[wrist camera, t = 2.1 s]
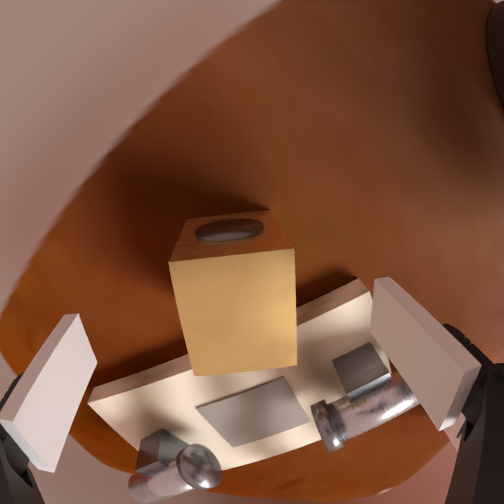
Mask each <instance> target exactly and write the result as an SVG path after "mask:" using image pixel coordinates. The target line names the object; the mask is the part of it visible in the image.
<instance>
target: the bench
mask: <svg viewBox="0 0 504 504" xmlns="http://www.w3.org/2000/svg"><path fill="white" fill-rule="evenodd" d="M372 303H373V301H372V298H371V294H370V291H369V290H368V289H367V288H366V287H365V285H364V284H363V283H362V282H361V281H360V280H359V279H356V280H354V281H352V282H350V283H348V284H346V285H344V286H342V287H340V288H338V289H336V290H334V291H332V292H330V293H327V294H325V295H323V296H321V297H319V298H317V299H315V300H313V301H311V302H308V303H306V304H304V305H302V306H300V307H298V308H296V326H297V365H295V366H288V367H281V368H274V369H266V370H258V371H249V372H240V373H230V374H219V375H207V376H194V374H193V370H192V366H191V362H190V358H189V354H187V355H184V356H181V357H179V358H176V359H173V360H171V361H168V362H166V363H163V364H160V365H157V366H155V367H152V368H149V369H146V370H144V371H141V372H138V373H135V374H132V375H130V376H127V377H124V378H121V379H118V380H115V381H112V382H109V383H106V384H103V385H100V386H97V387H94V388H93V391H92V393H91V396H90V398H89V400H88V403H87V404H88V405H89V406H90V407H91V408H92V409H93V410H94V411H95V412H96V413H97V414H98V415H99V416H100V417H101V418H102V419H103V420H105V421H106V422H107V423H108V424H109V425H110V426H111V427H112V428H113V429H114V430H115V431H116V432H117V433H118V434H119V435H121V436H122V437H123V438H124V439H125V440H126V441H127V442H128V443H130V444H131V445H132V446H133V447H134V448H135V449H137V450H138V451H139V447H140V442H141V439H143V438H145V437H147V436H149V435H150V434H152V433H154V432H156V431H158V430H160V429H162V428H163V429H164V430H166V431H168V432H169V433H171V434H172V435H174V436H176V437H177V438H179V439H181V440H182V441H184V442H186V443H188V444H189V445H192V444H201V445H203V446H205V447H207V448H208V449H209V450H210V451H212V453H213V454H214V455H215V456H216V458H217V459H218V461H219V463H220V466H221V469H222V470H225V469H229V468H233V467H237V466H241V465H245V464H248V463H252V462H256V461H259V460H262V459H266V458H269V457H272V456H275V455H278V454H282V453H285V452H288V451H290V450H293V449H296V448H299V447H302V446H305V445H307V444H310V443H313V442H315V441H318V440H320V439H321V436H320V434H319V432H318V429H317V427H316V424H315V421H314V418H313V415H312V412H311V407H310V405H312V404H314V403H317V402H319V401H321V400H324V399H325V400H326V402H327V404H328V403H331V402H333V401H335V400H337V399H340V398H342V397H344V396H346V393H345V391H344V388H343V386H342V384H341V381H340V379H339V377H338V374H337V372H336V369H335V367H334V365H333V362H332V360H333V359H335V358H337V357H340V356H342V355H344V354H346V353H348V352H350V351H352V350H354V349H356V348H358V347H360V346H362V345H364V344H366V343H368V342H370V343H371V344H372V346H373V347H374V349H375V350H376V352H377V353H378V355H379V357H380V358H381V360H382V361H383V363H384V364H385V366H386V367H387V369H388V371H389V372H390V374H391V373H392V372H391V368H390V364H389V360H388V356H387V355H386V353H385V352H384V350H383V349H382V348H381V346H380V345H379V344H378V342H377V341H376V339H375V338H374V337H373V335H372V334H371V332H370V323H371V313H372Z"/></svg>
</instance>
